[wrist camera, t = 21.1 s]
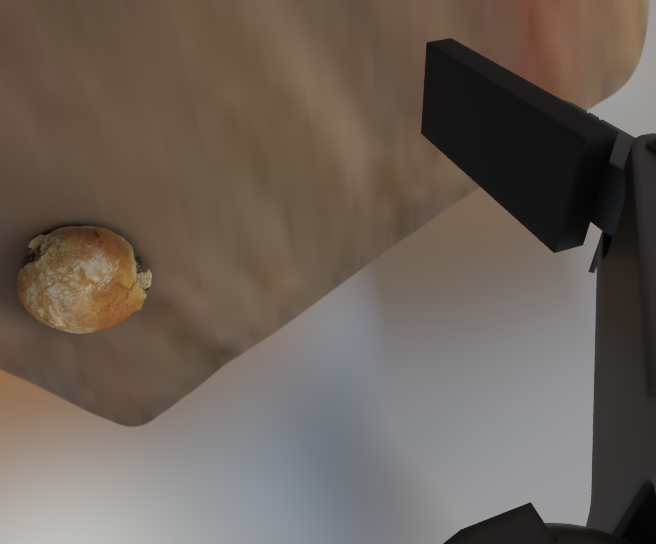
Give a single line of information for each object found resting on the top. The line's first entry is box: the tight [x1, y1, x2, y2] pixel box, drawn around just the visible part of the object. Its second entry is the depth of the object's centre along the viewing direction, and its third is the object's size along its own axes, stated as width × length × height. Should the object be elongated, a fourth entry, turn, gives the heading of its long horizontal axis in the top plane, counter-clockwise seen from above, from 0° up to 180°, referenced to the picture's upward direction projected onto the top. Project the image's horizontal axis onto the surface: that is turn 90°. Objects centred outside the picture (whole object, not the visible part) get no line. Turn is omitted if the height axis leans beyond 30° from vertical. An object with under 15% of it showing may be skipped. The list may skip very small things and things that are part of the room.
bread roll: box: [17, 225, 152, 334], centre depth 46 cm, size 10×10×8 cm
